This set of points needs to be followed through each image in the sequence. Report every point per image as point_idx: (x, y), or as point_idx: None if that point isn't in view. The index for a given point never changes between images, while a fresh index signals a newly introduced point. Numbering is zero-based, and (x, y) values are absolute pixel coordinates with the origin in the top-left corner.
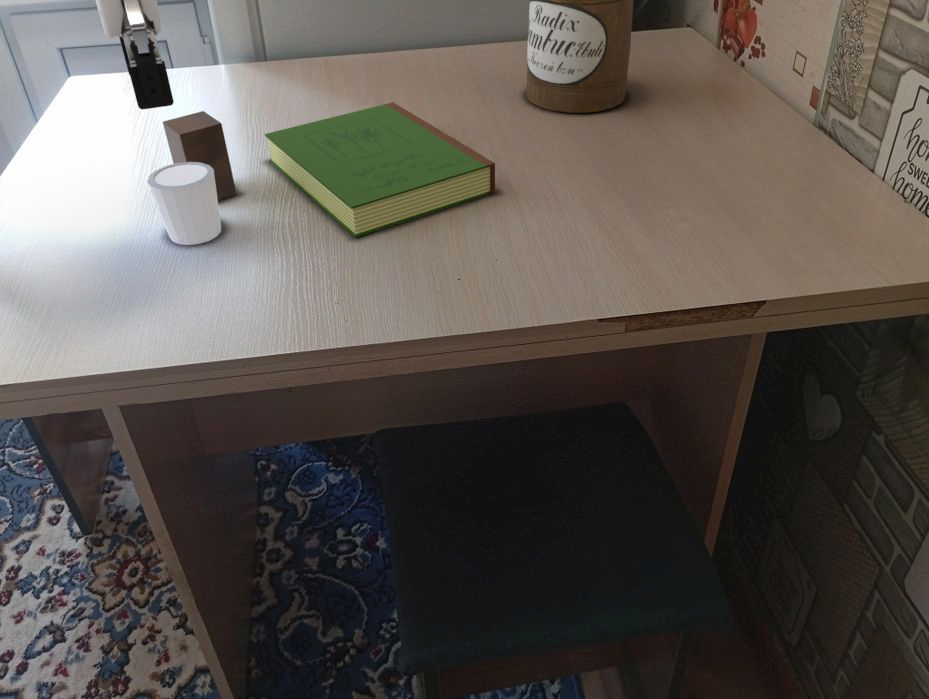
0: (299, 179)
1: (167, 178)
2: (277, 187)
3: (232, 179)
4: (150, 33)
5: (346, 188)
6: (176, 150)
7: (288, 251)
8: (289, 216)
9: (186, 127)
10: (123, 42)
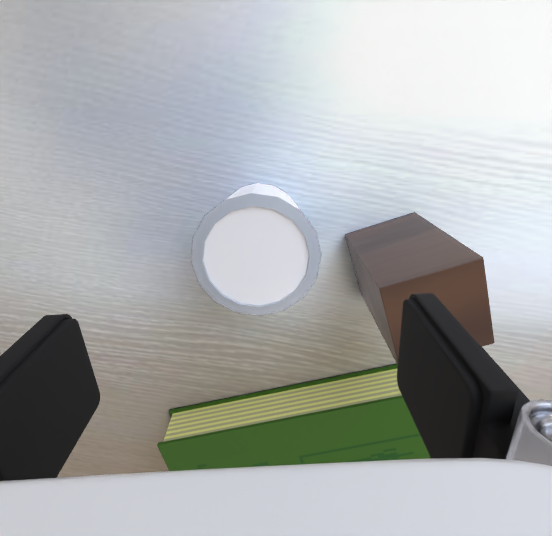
0: (344, 385)
1: (252, 232)
2: (359, 349)
3: (367, 305)
4: None
5: (217, 449)
6: (411, 253)
7: (159, 335)
8: (259, 350)
9: None
10: (465, 386)
